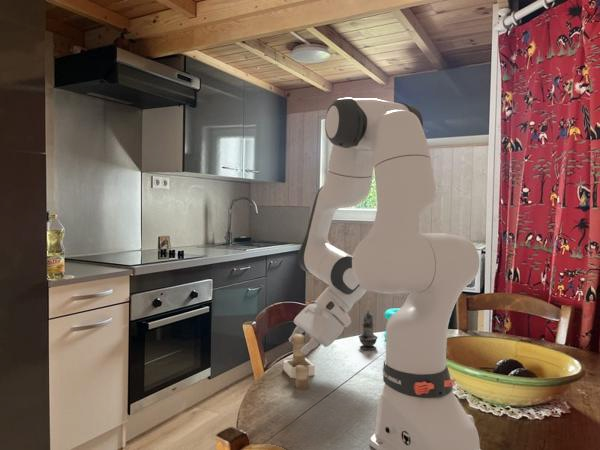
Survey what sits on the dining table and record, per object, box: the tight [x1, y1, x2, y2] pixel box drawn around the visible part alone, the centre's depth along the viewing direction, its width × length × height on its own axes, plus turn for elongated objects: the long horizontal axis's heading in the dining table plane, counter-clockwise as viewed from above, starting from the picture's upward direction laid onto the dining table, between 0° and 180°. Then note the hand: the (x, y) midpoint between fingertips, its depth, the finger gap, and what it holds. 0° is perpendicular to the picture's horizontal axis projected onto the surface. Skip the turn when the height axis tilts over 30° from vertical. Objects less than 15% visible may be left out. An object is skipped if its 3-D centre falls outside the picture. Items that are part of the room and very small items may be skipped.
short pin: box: [295, 365, 310, 391], centre depth 109 cm, size 3×3×5 cm
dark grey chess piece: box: [358, 310, 378, 352], centre depth 140 cm, size 6×6×12 cm
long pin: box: [292, 333, 306, 367], centre depth 119 cm, size 3×3×10 cm
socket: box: [283, 357, 315, 379], centre depth 119 cm, size 6×6×2 cm
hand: (296, 347), depth 118 cm, fingers open, 8 cm apart
